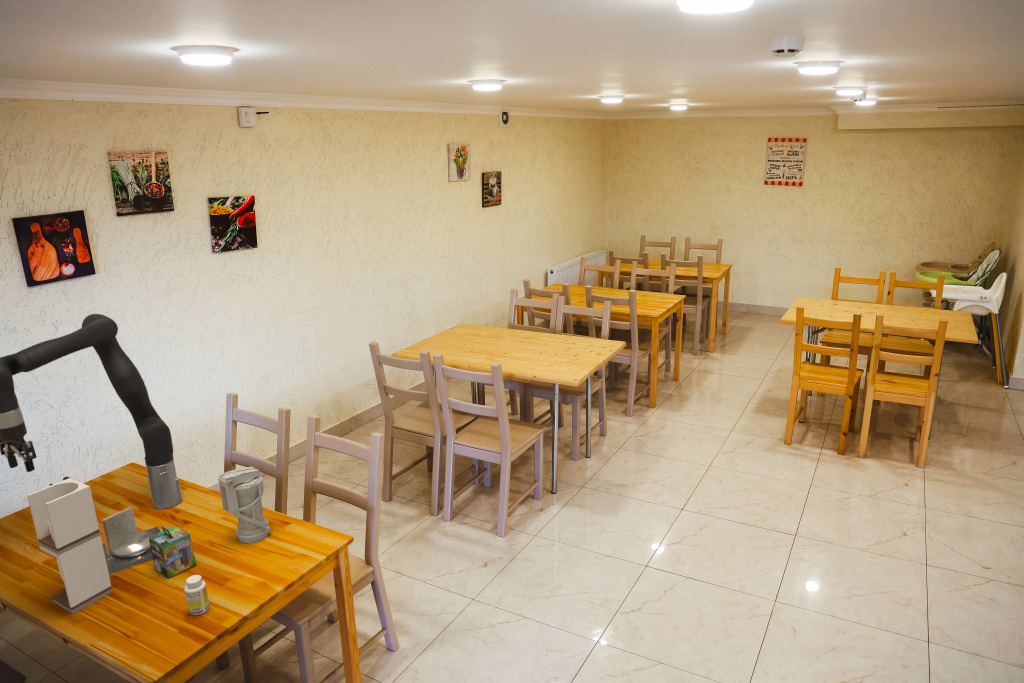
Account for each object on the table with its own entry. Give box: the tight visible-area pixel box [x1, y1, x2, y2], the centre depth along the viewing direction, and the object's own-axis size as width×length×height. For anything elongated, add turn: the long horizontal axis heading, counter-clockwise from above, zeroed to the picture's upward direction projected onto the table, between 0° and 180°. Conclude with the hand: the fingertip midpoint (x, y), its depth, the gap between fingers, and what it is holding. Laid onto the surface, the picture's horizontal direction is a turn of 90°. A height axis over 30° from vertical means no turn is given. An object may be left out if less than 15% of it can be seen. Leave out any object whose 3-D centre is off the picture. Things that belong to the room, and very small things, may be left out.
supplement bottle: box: [183, 574, 210, 616], centre depth 194 cm, size 6×6×10 cm
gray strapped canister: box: [218, 466, 272, 544], centre depth 228 cm, size 13×10×25 cm
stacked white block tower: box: [26, 477, 113, 614], centre depth 198 cm, size 11×11×35 cm
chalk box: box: [149, 524, 197, 580], centre depth 214 cm, size 9×9×15 cm
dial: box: [99, 506, 155, 558], centre depth 222 cm, size 15×13×14 cm
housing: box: [102, 526, 162, 575], centre depth 225 cm, size 18×18×2 cm
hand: (22, 469), depth 221 cm, fingers open, 8 cm apart
